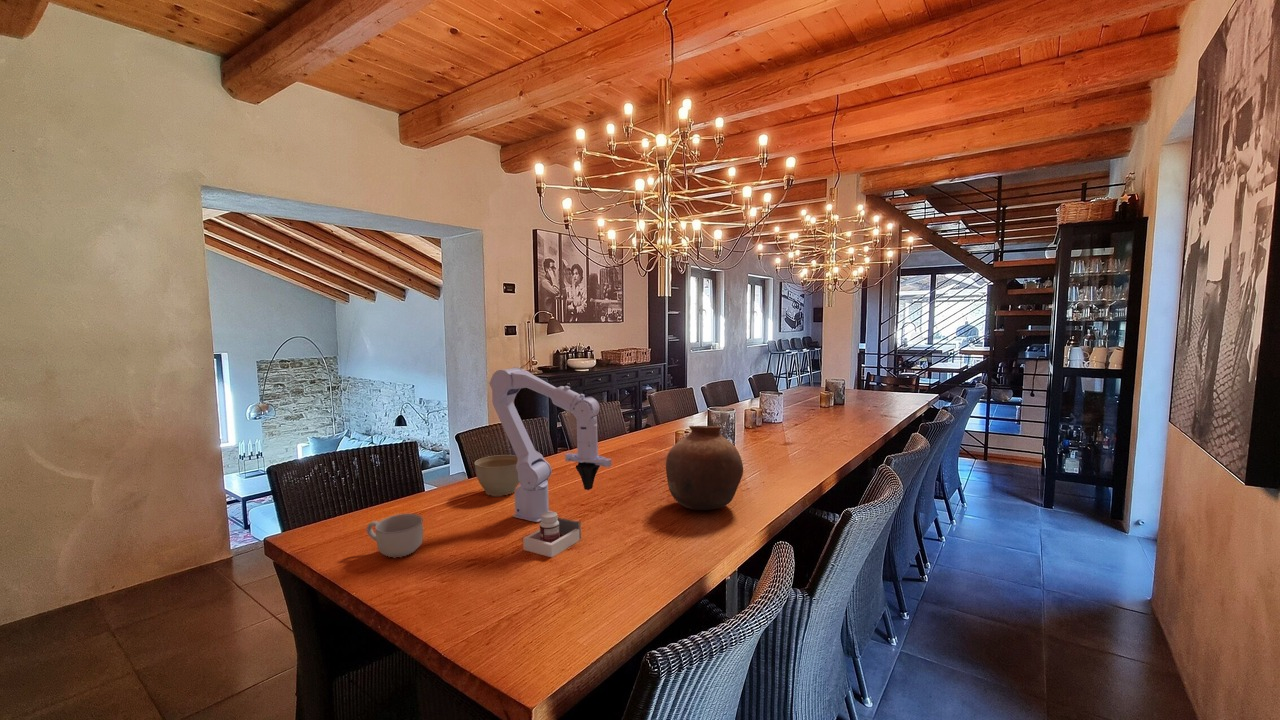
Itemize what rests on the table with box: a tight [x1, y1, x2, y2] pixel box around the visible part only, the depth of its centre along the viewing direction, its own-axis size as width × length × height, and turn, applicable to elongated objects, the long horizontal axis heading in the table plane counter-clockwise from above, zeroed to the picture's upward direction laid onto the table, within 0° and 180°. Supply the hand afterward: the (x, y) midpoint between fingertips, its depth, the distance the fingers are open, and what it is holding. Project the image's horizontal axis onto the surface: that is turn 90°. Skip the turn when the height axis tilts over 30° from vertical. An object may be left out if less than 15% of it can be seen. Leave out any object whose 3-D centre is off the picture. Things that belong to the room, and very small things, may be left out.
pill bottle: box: [539, 511, 560, 543], centre depth 132 cm, size 5×5×8 cm
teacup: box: [366, 513, 424, 559], centre depth 131 cm, size 14×11×8 cm
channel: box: [522, 529, 580, 558], centre depth 133 cm, size 9×11×3 cm
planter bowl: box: [474, 454, 520, 497], centre depth 175 cm, size 16×16×11 cm
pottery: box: [665, 425, 744, 511], centre depth 159 cm, size 23×23×25 cm
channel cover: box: [557, 517, 582, 540], centre depth 138 cm, size 9×1×4 cm, turn 62°
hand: (588, 488), depth 148 cm, fingers closed
